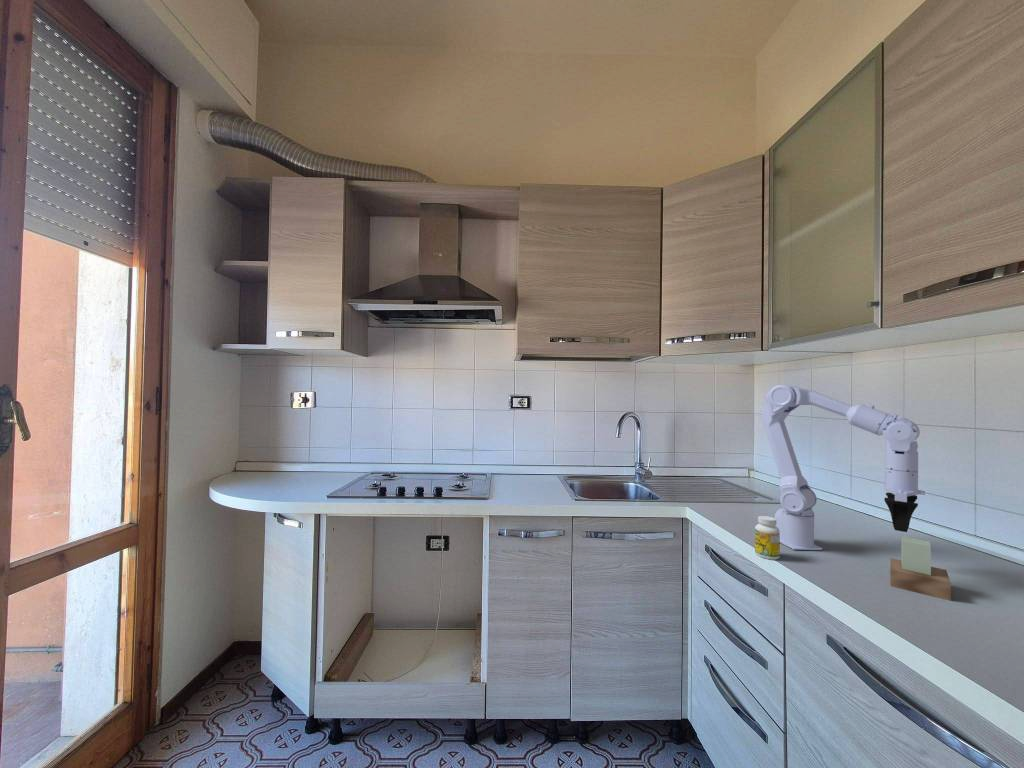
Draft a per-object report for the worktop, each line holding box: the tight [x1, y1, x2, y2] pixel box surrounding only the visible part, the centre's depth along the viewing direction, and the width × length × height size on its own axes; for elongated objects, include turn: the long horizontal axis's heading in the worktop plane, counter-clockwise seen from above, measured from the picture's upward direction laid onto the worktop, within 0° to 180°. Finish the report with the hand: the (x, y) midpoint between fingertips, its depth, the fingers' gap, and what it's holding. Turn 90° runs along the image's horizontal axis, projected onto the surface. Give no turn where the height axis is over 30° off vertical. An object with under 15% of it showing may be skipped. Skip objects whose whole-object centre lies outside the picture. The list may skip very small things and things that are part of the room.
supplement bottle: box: [754, 515, 781, 561], centre depth 105 cm, size 5×5×10 cm
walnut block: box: [889, 557, 952, 602], centre depth 90 cm, size 9×9×4 cm
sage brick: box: [900, 536, 932, 575], centre depth 90 cm, size 4×4×6 cm
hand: (900, 527), depth 98 cm, fingers open, 7 cm apart
